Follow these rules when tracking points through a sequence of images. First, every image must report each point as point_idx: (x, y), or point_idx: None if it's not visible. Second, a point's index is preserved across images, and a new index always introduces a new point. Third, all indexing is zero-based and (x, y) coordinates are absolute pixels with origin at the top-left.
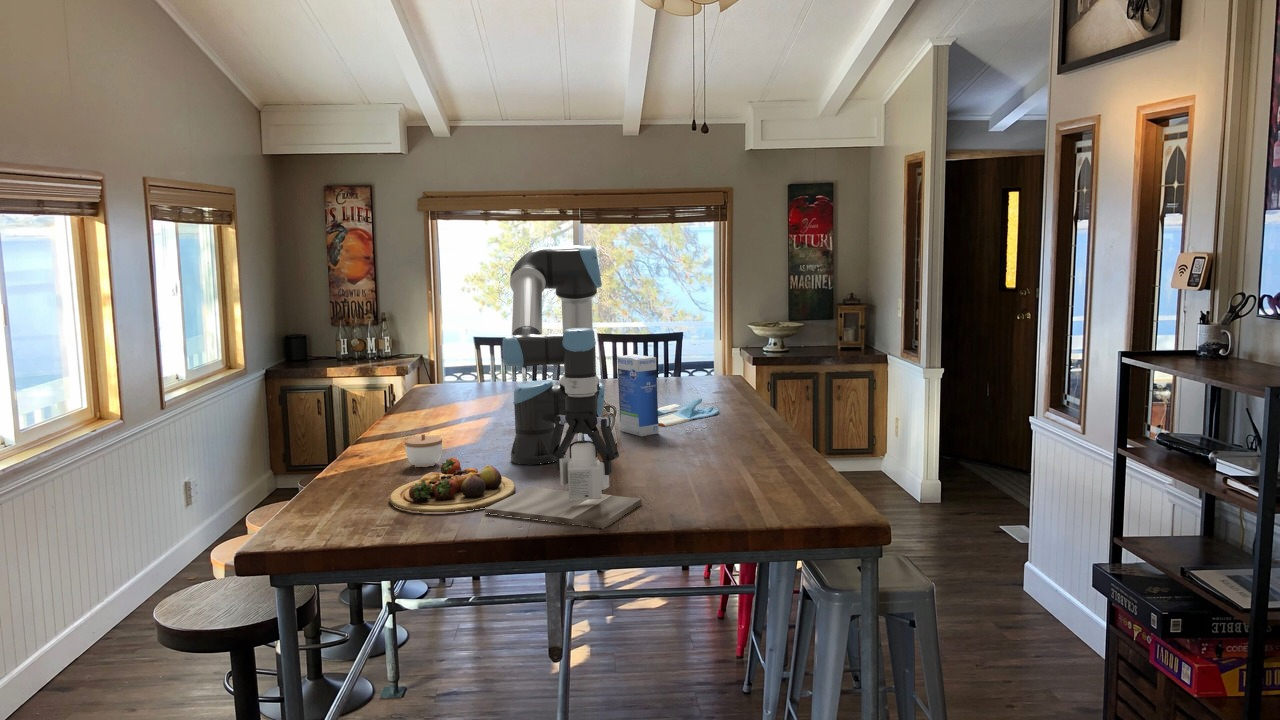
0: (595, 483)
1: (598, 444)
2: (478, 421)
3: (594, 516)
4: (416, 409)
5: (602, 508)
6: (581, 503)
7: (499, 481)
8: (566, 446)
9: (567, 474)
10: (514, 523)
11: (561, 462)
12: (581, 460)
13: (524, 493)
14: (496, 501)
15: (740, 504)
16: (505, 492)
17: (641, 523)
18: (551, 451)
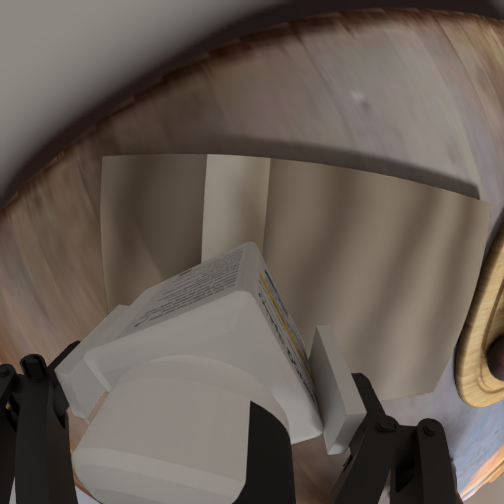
0: (134, 308)
1: (19, 452)
2: (466, 492)
3: (147, 201)
4: (499, 475)
5: None
6: None
7: (494, 358)
8: (332, 498)
9: (315, 381)
10: (396, 136)
11: (348, 398)
12: (149, 375)
13: (440, 351)
14: (483, 282)
15: (16, 372)
16: (475, 336)
17: (57, 236)
18: (431, 434)
